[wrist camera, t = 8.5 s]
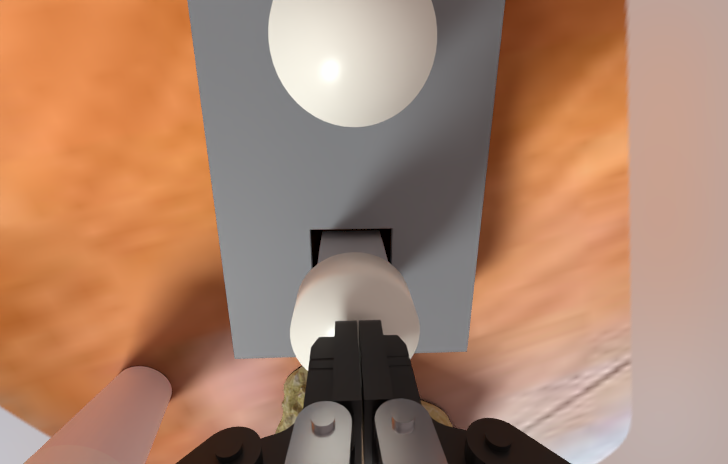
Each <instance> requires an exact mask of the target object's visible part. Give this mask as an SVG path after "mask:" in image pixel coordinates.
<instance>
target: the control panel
mask: <svg viewBox="0 0 728 464" xmlns="http://www.w3.org/2000/svg"><path fill="white" fill-rule="evenodd" d="M431 1H432V4H433V7H434V11H435V16H436V23H437V46H436V54H435V58H434V62H433V66H432V68H431V71H430V74H429V76H428V78H427V80H426V82H425V84H424V86H423V87H422V89H421V90H420V92H419V93H418V95H417V96H416V97H415V98H414V99H413V101H412V102H411V103H410V104H409V105H408V106H407V107H405V108H404V109H403V110H402V111H401V112H399V113H398V114H396V115H395V116H393V117H391V118H389V119H387V120H385V121H383V122H380V123H377V124H374V125H370V126H365V127H343V126H338V125H334V124H331V123H328V122H325V121H323V120H321V119H319V118H317V117H315V116H313V115H312V114H310V113H309V112H307V111H306V110H304V109H303V108H302V107H301V106H300V105H299V104H298V103H297V102H296V101H295V100H294V99H293V98H292V97H291V96H290V95H289V93H288V92H287V90H286V89H285V87H284V86H283V84H282V82H281V80H280V79H279V77H278V75H277V72H276V70H275V67H274V65H273V61H272V57H271V53H270V47H269V40H268V25H269V15H270V10H271V6H272V2H273V0H188V8H189V16H190V23H191V31H192V38H193V46H194V54H195V61H196V69H197V76H198V84H199V91H200V99H201V107H202V114H203V122H204V129H205V137H206V145H207V152H208V160H209V167H210V175H211V183H212V190H213V198H214V205H215V213H216V220H217V228H218V236H219V243H220V251H221V258H222V266H223V274H224V281H225V289H226V296H227V304H228V311H229V319H230V327H231V334H232V342H233V349H234V357H235V359H246V358H277V357H296V355H295V353H294V351H293V348H292V345H291V340H290V326H291V321H292V316H293V312H294V308H295V303H296V299H297V294H298V291H299V288H300V285H301V283H302V281H303V279H304V278H305V276H306V275H307V274H308V273H309V271H310V270H311V269H312V268H313V265H312V243H311V230H314V229H381V228H391V251H390V264H392V265H393V266H394V267H395V268H396V269H397V270H398V271H399V272H400V273H401V275H402V276H403V278H404V280H405V282H406V284H407V286H408V289H409V292H410V295H411V298H412V301H413V304H414V307H415V310H416V313H417V316H418V319H419V324H420V335H419V341H418V345H417V348H416V350H415V352H414V353H436V352H467V346H468V337H469V328H470V318H471V309H472V300H473V291H474V282H475V273H476V263H477V254H478V245H479V236H480V227H481V218H482V208H483V199H484V190H485V181H486V172H487V162H488V153H489V144H490V135H491V126H492V117H493V107H494V98H495V89H496V80H497V71H498V62H499V52H500V43H501V34H502V25H503V16H504V7H505V0H431Z"/></svg>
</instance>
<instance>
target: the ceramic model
mask: <svg viewBox="0 0 728 464" xmlns="http://www.w3.org/2000/svg"><path fill="white" fill-rule="evenodd" d="M307 374H308V371H307V370H306V369H305V368H304V367H303V366H302V367H300V368H299V369H297V370H296V371H294V372H293V373H292V374H291V375H290V376H289V377H288V378H287V380H286V382H285V384H284V394H285V395H284V400H283V402H282V407H283V416H282V420H281V421H280V423H279V425H278V428H277V430H276V434H277V433H279V432H282V431H284V430H286V429H287V428H289V427H290V426H291V425H293V424H294V423H295V420H296V417H297V416H298V414H299V413H300V412H301V411H302V410H303V405H304V397H305V389H306V382H307ZM421 404H422V406H423V407H424V408H425V409H426V410H427V411H428V413H429V415H430V417H431V418H433V419H434V420H436V421H437V422H439V423H441V424H444V425H446V426H450V427H453V426H452V424H451V422H450V421H449V418H448V416H447V415H446V414H445V413H444V412H443V411H442V410H441V409H440V408H438V407H436V406H434V405H432V404H430V403H427V402H424V401H421ZM362 464H364V456H363V439H362Z"/></svg>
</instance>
